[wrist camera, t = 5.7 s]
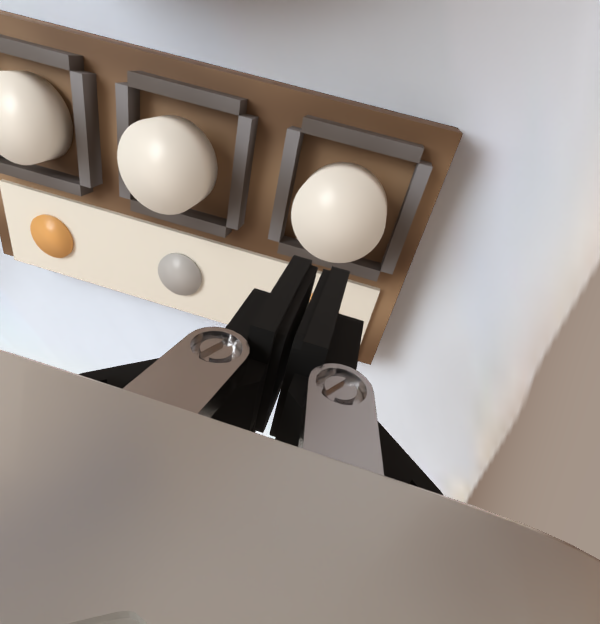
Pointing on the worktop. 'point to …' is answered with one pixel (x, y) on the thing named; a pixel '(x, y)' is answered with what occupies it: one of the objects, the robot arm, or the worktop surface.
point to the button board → (230, 148)
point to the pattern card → (147, 257)
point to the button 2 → (340, 212)
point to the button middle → (167, 163)
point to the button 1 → (32, 119)
